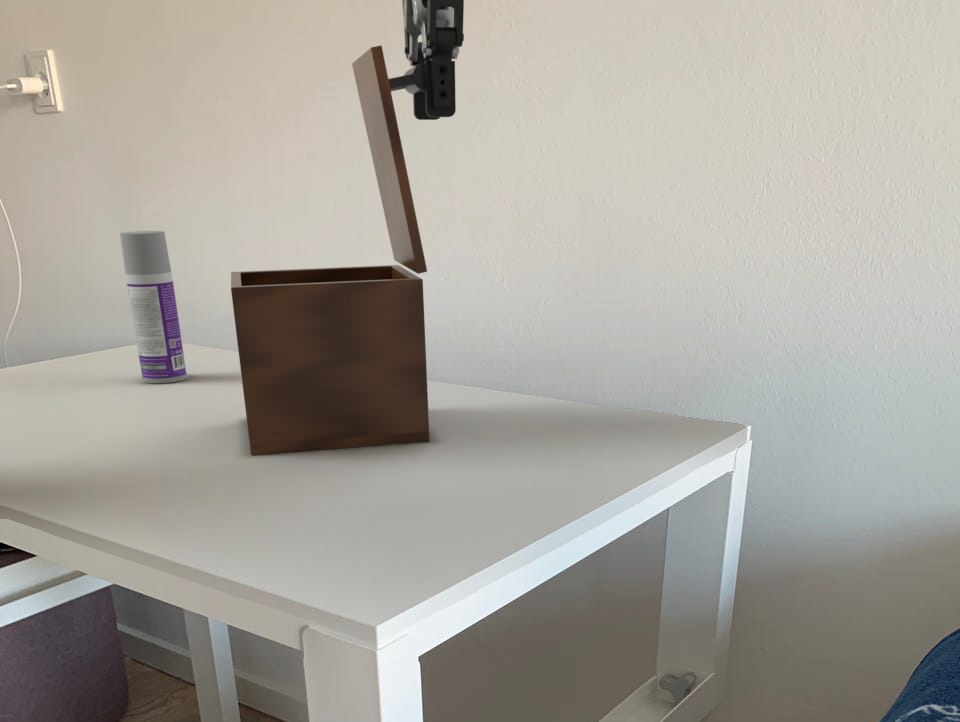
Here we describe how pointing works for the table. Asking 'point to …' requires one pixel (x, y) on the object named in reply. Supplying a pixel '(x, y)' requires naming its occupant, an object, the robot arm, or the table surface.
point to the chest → (331, 357)
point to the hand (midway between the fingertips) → (434, 117)
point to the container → (153, 306)
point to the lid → (390, 151)
